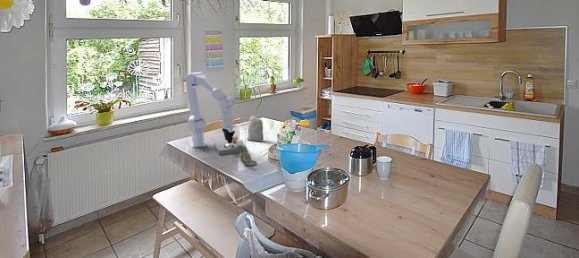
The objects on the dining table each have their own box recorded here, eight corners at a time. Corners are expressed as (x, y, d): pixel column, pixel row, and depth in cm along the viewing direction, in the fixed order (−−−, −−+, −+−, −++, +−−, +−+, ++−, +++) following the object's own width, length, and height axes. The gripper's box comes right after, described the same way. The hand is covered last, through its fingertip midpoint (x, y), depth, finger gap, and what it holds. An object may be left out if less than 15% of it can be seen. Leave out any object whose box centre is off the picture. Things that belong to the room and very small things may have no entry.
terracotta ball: (230, 141, 225) (230, 135, 224) (237, 140, 226) (236, 134, 225) (232, 143, 221) (231, 136, 220) (238, 142, 223) (238, 136, 222)
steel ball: (225, 149, 217) (224, 143, 216) (232, 149, 218) (231, 142, 217) (225, 152, 214) (225, 145, 213) (232, 151, 215) (232, 144, 214)
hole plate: (213, 146, 224) (213, 142, 223) (239, 143, 230) (239, 139, 229) (218, 154, 209) (218, 150, 208) (246, 151, 214) (246, 147, 214)
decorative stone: (265, 140, 236) (264, 117, 232) (259, 142, 231) (258, 118, 228) (251, 137, 242) (250, 115, 238) (245, 140, 237) (244, 117, 233)
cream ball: (235, 145, 217) (235, 139, 216) (242, 144, 218) (242, 138, 217) (237, 147, 213) (237, 140, 212) (244, 146, 215) (243, 139, 214)
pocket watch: (256, 161, 196) (256, 143, 194) (256, 167, 188) (255, 148, 186) (241, 162, 196) (240, 144, 194) (239, 167, 188) (238, 148, 185)
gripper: (237, 120, 206) (238, 144, 210) (231, 115, 219) (232, 137, 223) (224, 121, 204) (226, 145, 207) (219, 116, 217) (220, 139, 220)
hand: (228, 141), depth 215 cm, fingers open, 6 cm apart
